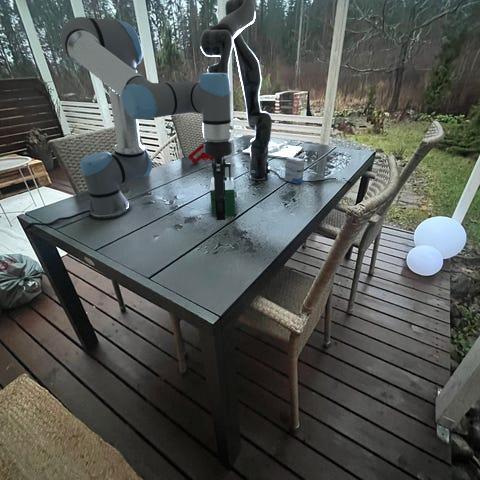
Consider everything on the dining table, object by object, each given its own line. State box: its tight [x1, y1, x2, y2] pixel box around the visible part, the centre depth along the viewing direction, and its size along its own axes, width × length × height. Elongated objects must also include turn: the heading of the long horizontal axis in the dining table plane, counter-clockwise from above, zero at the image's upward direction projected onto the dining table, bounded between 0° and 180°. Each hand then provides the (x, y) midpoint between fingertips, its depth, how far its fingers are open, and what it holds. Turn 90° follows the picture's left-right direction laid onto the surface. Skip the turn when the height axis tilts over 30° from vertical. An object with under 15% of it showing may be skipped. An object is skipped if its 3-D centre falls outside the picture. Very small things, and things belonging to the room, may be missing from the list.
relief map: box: [242, 138, 304, 160], centre depth 192 cm, size 27×35×5 cm
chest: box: [209, 191, 236, 217], centre depth 114 cm, size 14×9×10 cm
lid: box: [209, 163, 235, 193], centre depth 109 cm, size 14×9×8 cm
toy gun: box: [188, 142, 214, 164], centre depth 168 cm, size 18×4×15 cm
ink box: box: [284, 156, 306, 185], centre depth 140 cm, size 8×5×12 cm, turn 47°
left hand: (221, 209), depth 85 cm, fingers open, 13 cm apart
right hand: (221, 145), depth 107 cm, fingers open, 8 cm apart
